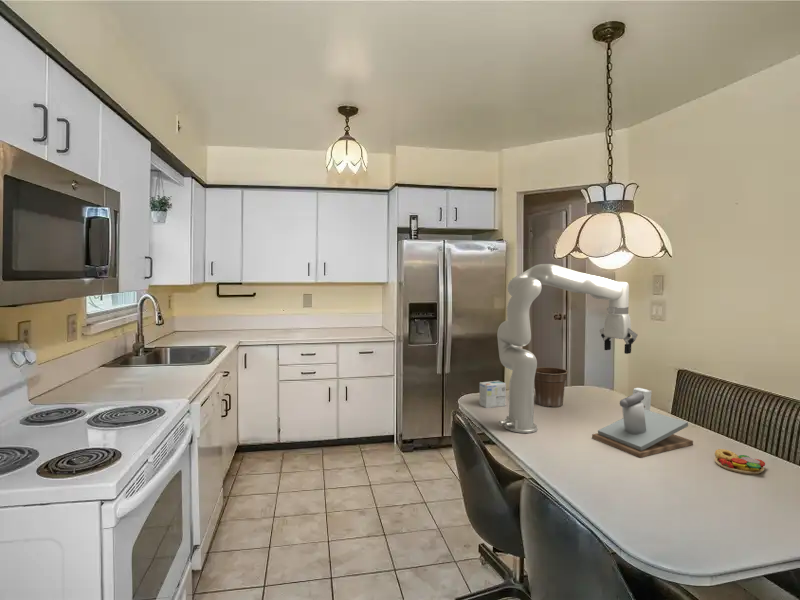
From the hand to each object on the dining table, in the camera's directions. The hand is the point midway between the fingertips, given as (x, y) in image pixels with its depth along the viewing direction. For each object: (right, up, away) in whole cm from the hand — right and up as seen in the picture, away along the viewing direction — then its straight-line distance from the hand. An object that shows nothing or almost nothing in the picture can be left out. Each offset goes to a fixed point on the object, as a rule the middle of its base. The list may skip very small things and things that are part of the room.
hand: (617, 351), depth 193 cm
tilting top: (-2, -26, -24) cm, 36 cm away
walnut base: (-3, -30, -24) cm, 39 cm away
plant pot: (-21, -28, +25) cm, 43 cm away
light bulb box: (-48, -28, +22) cm, 60 cm away
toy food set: (+17, -32, -46) cm, 59 cm away
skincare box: (+13, -29, +5) cm, 32 cm away
